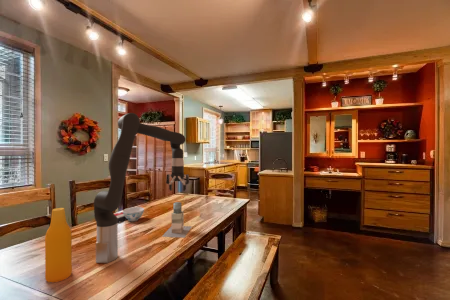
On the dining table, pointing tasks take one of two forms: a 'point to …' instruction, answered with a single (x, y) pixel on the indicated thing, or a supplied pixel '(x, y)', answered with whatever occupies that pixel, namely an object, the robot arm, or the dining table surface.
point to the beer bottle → (58, 248)
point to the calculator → (120, 217)
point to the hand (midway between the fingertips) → (177, 190)
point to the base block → (177, 227)
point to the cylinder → (177, 207)
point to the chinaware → (133, 213)
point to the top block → (178, 217)
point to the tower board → (182, 234)
